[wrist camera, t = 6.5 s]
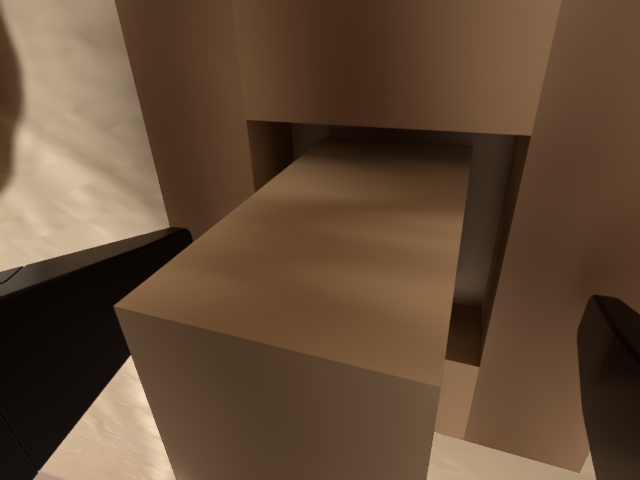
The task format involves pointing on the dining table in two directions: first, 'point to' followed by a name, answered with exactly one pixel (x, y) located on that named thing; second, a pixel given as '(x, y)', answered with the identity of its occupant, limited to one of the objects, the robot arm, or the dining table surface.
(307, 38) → the socket block
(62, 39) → the dining table surface
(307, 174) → the maple peg
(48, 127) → the dining table surface
